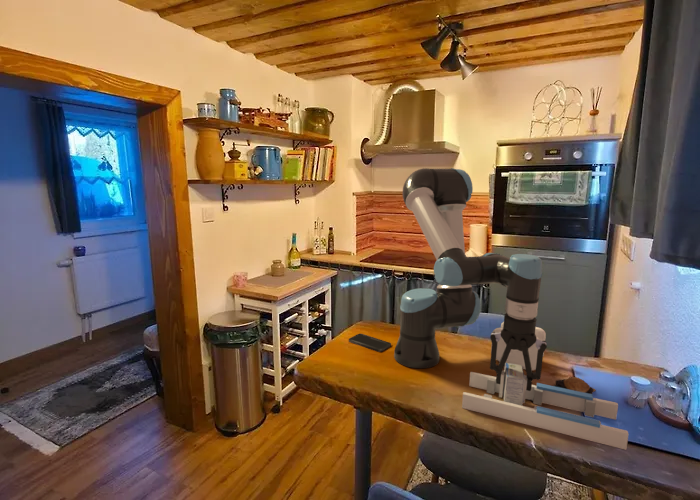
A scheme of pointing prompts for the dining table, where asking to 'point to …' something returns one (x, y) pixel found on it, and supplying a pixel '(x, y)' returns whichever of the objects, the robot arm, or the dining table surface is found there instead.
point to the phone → (370, 342)
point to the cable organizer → (517, 355)
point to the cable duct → (550, 410)
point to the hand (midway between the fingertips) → (512, 397)
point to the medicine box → (513, 384)
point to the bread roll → (575, 385)
